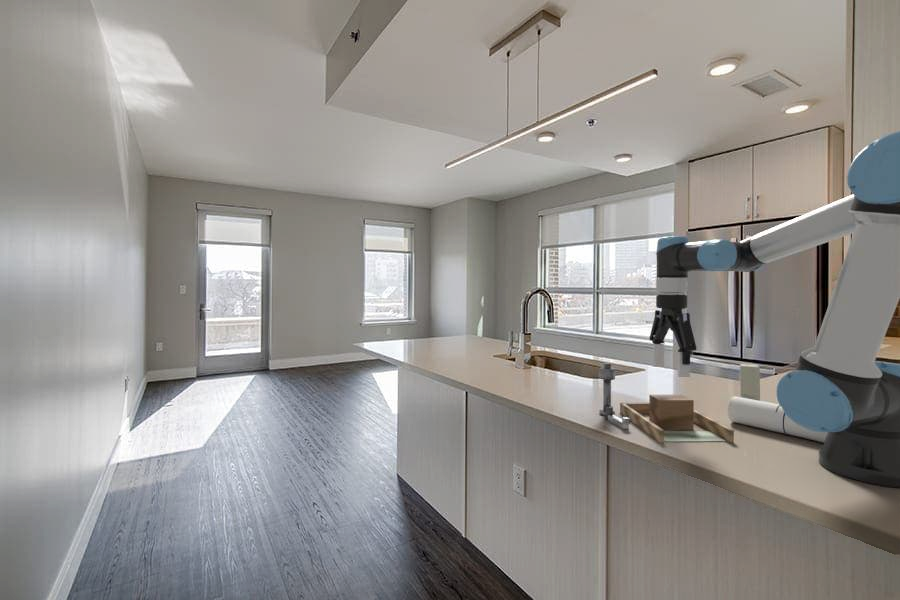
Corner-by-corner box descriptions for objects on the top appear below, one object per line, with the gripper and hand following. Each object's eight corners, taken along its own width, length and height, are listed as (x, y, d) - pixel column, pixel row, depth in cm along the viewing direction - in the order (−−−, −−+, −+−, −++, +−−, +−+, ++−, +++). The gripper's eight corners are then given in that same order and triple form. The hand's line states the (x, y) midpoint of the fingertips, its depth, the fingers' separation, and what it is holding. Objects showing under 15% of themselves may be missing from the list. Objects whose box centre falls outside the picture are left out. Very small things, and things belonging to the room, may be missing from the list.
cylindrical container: (725, 416, 117) (847, 444, 96) (731, 392, 119) (851, 414, 98) (735, 424, 121) (854, 452, 100) (741, 401, 122) (859, 423, 102)
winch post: (617, 416, 125) (617, 364, 125) (602, 416, 125) (602, 364, 125) (611, 411, 130) (611, 361, 129) (597, 412, 130) (597, 362, 129)
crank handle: (631, 429, 114) (631, 416, 113) (624, 430, 113) (624, 416, 113) (610, 418, 124) (610, 405, 124) (604, 418, 123) (604, 406, 123)
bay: (733, 442, 104) (733, 430, 104) (659, 442, 104) (660, 430, 104) (679, 412, 129) (679, 402, 129) (620, 412, 129) (620, 402, 129)
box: (759, 404, 136) (759, 364, 136) (760, 408, 132) (760, 367, 132) (739, 402, 139) (739, 363, 139) (739, 405, 135) (740, 365, 135)
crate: (693, 429, 113) (693, 400, 113) (659, 429, 113) (659, 400, 113) (681, 422, 119) (681, 394, 119) (649, 422, 119) (649, 394, 119)
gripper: (713, 295, 103) (711, 381, 104) (662, 292, 128) (662, 362, 129) (682, 295, 103) (681, 381, 104) (637, 293, 128) (637, 362, 129)
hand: (670, 371), depth 116 cm, fingers open, 13 cm apart
